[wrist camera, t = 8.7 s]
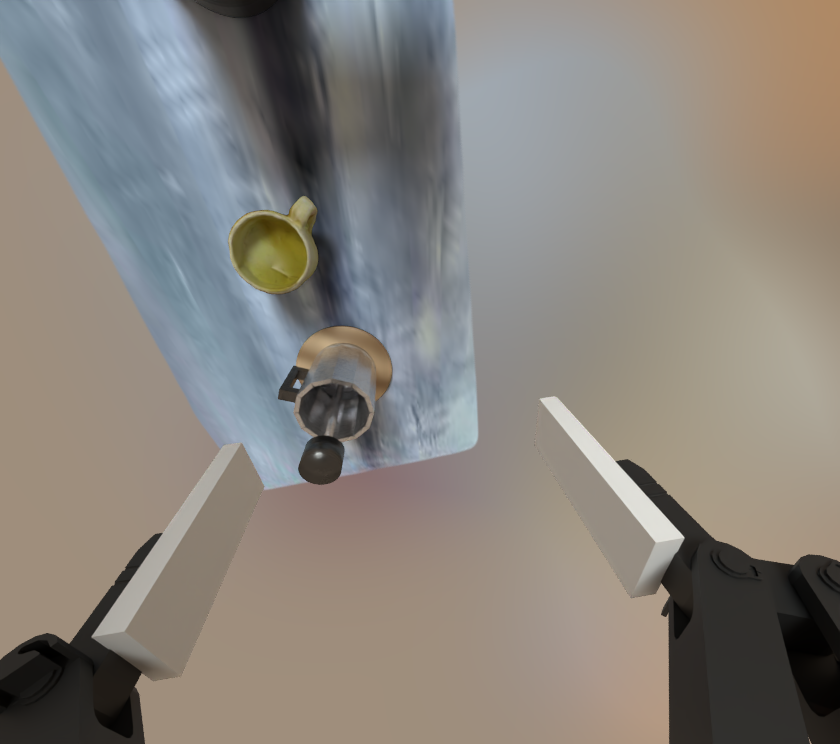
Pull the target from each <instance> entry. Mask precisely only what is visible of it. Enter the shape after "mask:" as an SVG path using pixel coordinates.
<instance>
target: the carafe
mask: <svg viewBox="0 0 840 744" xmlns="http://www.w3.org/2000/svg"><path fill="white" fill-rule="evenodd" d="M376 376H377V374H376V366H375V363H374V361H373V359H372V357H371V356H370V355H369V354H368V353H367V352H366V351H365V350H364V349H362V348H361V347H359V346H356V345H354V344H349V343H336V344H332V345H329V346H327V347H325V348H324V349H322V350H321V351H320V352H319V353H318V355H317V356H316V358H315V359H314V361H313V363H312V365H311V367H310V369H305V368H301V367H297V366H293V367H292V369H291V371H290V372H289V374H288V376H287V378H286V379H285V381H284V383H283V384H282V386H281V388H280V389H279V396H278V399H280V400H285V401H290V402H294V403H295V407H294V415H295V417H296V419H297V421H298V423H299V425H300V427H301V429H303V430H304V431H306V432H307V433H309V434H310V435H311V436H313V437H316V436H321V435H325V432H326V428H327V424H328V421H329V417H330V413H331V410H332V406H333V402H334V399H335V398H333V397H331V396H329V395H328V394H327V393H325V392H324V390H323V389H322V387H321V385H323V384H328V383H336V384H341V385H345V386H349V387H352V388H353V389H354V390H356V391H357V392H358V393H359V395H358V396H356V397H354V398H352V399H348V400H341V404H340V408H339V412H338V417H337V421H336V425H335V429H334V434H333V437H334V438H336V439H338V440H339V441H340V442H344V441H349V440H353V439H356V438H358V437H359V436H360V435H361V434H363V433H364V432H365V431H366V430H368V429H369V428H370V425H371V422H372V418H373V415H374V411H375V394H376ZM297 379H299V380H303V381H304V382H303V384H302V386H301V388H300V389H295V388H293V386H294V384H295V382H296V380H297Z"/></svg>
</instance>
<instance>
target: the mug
mask: <svg viewBox="0 0 840 744" xmlns="http://www.w3.org/2000/svg"><path fill="white" fill-rule="evenodd" d="M316 215H317V208H316V207H315V205H314V204H313V203H312V201H311V200H309V199H308V198H307V197H306V196H302V197H301V198H299V199H298V200H297V202H295V203H294V204H293V206H292V207H291V208H290V211H289V215H283V214H280V213H278V212H274V211H270V210H260V211H254V212H250V213H247V214H245V215H244V216H242V217H241V218H240V219H239V220H237V222H236V223H235V224H234V225H233V227H232V229H231V231H230V234H229V239H228V244H229V249H230V259H231V261H232V264H233V266H234V268H235V270H236V271H237V272H238V274H239V275H240V276H241V277H242V278H243V279H244V280H245V281H246V282H247V283H249V284H250V285H252V286H253V287H254V288H255V289H258V290H260V291H263V292H266V293H269V294H284V293H288V292H291V291H293V290H295V289H297V288H298V287H300V286H301V285H302V284H303V283H304V282H305V281H306V280H307V279H309V278H310V277H311V276H312V274H313V273H314V271H315V269H316V267H317V264H318V251H317V247H316V245H315V243H314V240H313V238H312V228H313V225H314V223H315V220H316Z"/></svg>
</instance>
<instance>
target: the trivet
mask: <svg viewBox="0 0 840 744" xmlns="http://www.w3.org/2000/svg"><path fill="white" fill-rule="evenodd" d="M336 343H349V344H354V345H356V346H359V347H361V348H362V349H364V350H365V351H366V352H367V353H368V354H369V355H370V356H371V357H372V359H373V361H374V363H375V366H376V374H377V376H376V394H375V401H376V400H378V399H379V398H380V397H381V396H382V395H383V394H384V393H385V391H386V390H387V388H388V386H389V384H390V381H391V376H392V365H391V360H390V357H389V354H388V352H387V350H386V349H385V347H384V346H383V345H382V343H381V342H380V341H379V340H378V339H376V338H375V337H374V336H373V335H371V334H369V333H368V332H366V331H364V330H361V329H358V328H355V327H350V326H333V327H328V328H325V329H322V330H320V331H318V332H316V333H315V334H313V335H312V336H311V337H309V338H308V339H307V340H306V341H305V343H304V344H303V346H302V347H301V349H300V351H299V353H298V356H297V361H296V366H297V367H301V368H305V369H310V367H311V365H312V363H313V361H314V359H315V358H316V356H317V355H318V353H319V352H320V351H321V350H322V349H324V348H325V347H327V346H329V345H332V344H336ZM299 381H300V383H301V385H302V384H303V382H304V381H303V380H299Z"/></svg>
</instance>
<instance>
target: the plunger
mask: <svg viewBox="0 0 840 744" xmlns="http://www.w3.org/2000/svg"><path fill="white" fill-rule="evenodd" d="M321 387H322V389H323V390H324V392H325V393H327V394H328V395H329V396H331V397H333V398H335V399H334V402H333V406H332V410H331V413H330V417H329V421H328V424H327V428H326V432H325V435H321V436H316V437H314V438H312V439H310V440H309V441H308V442H307V444H306V446H305V449H304V452H303V455H302V458H301V461H300V464H299V468H298V470H299V473H300V475H301V477H302V478H303V479H305V480H306V481H308V482H310V483H313V484H319V485H322V484H328V483H331V482H333V481H335V480H336V479H338V477H339V476H340V474H341V469H342V464H343V458H344V452H345V450H344V446H343V444H342V443H341V442H340V441H339V440H338V439H336V438H334V437H333V434H334V429H335V425H336V421H337V417H338V412H339V408H340V404H341V400H348V399H352V398H354V397H356V396H358V395H359V393H358V392H357V391H356V390H354V389H353V388H352V387H349V386H345V385H341V384H336V383H328V384H323V385H321Z"/></svg>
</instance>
